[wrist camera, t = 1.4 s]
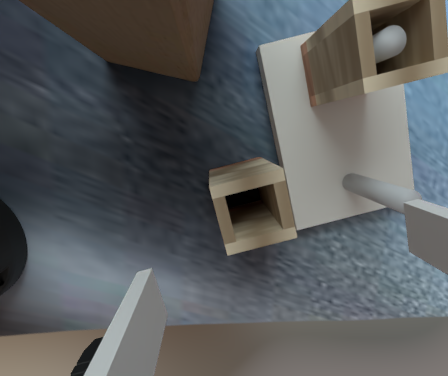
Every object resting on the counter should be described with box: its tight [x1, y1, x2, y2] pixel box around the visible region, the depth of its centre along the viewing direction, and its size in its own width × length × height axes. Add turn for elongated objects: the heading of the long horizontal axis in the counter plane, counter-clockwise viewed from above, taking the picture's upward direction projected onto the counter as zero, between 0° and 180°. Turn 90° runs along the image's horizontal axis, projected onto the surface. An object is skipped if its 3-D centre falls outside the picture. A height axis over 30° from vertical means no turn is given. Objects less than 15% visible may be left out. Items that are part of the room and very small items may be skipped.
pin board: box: [256, 25, 422, 230], centre depth 25 cm, size 14×20×11 cm
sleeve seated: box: [300, 0, 448, 107], centre depth 23 cm, size 6×6×10 cm
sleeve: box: [209, 157, 297, 256], centre depth 27 cm, size 6×6×10 cm
